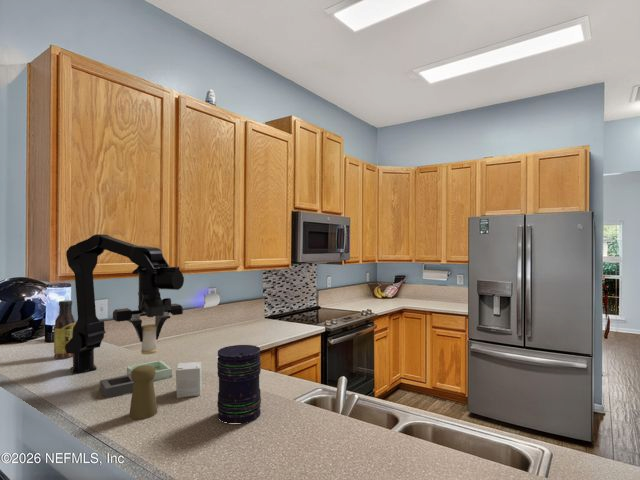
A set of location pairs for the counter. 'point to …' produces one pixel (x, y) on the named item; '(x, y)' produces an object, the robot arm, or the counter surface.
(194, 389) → the skincare box
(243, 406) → the storage jar
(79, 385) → the counter surface
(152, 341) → the fuse
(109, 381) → the socket block
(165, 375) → the parts tray
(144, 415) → the olive pepper mill
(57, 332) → the sauce bottle
